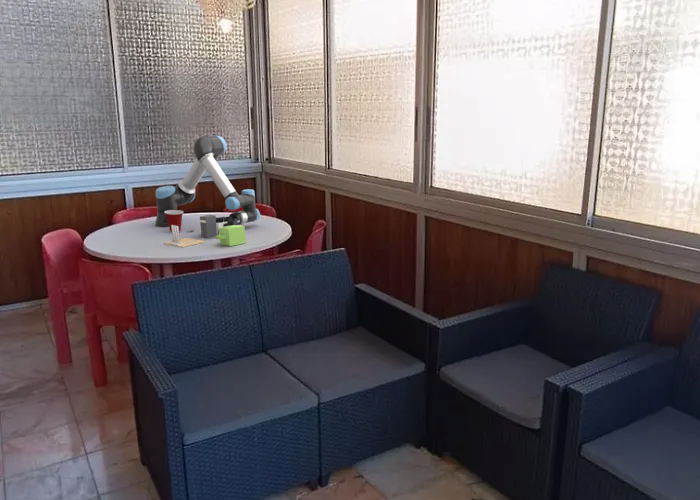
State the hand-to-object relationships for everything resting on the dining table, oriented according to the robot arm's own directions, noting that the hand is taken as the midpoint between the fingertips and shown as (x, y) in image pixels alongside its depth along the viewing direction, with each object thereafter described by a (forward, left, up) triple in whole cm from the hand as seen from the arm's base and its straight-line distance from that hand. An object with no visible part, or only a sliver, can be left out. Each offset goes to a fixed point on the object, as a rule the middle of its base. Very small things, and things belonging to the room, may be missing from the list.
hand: (210, 224), depth 329 cm
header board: (0, -18, -7) cm, 19 cm away
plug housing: (0, -1, -7) cm, 7 cm away
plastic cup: (-29, -1, -7) cm, 30 cm away
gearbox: (+23, -4, -7) cm, 24 cm away
